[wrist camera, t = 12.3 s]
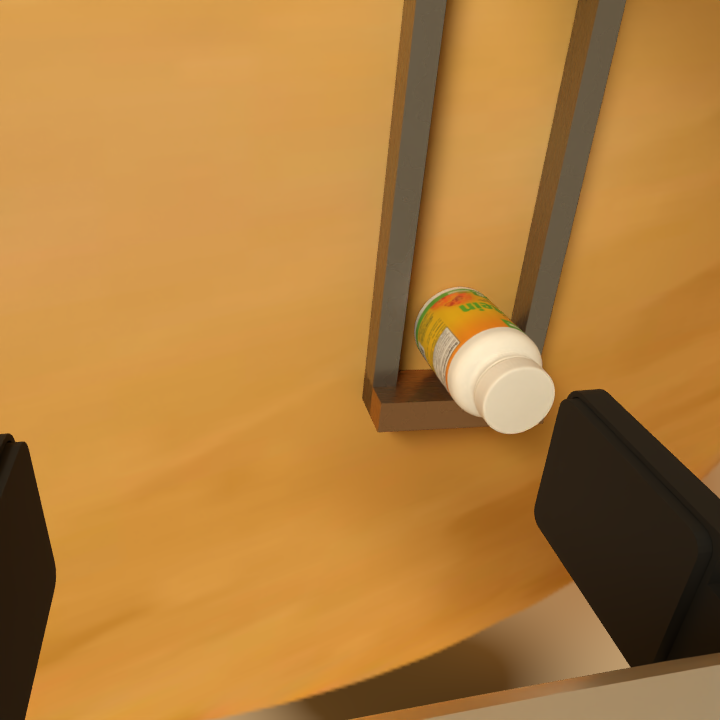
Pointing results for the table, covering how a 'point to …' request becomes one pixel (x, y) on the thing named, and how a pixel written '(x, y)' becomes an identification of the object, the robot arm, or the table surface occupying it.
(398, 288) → the u-shaped frame
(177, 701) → the table surface
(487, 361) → the supplement bottle
